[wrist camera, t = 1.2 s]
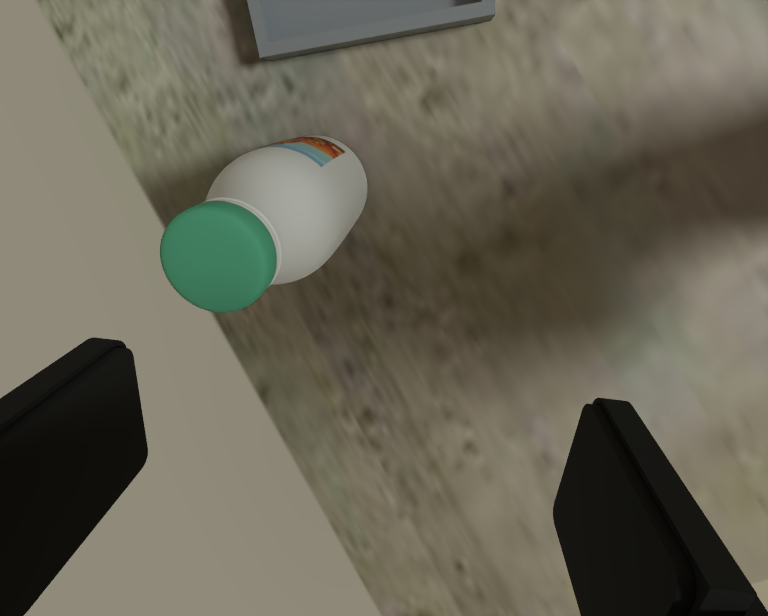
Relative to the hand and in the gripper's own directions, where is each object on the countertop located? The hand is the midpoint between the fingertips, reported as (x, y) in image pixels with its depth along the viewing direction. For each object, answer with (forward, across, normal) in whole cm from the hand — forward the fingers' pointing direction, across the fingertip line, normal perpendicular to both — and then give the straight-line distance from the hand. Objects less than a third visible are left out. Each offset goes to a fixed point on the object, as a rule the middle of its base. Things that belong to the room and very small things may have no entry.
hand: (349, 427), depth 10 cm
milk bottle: (+30, +7, 0) cm, 31 cm away
